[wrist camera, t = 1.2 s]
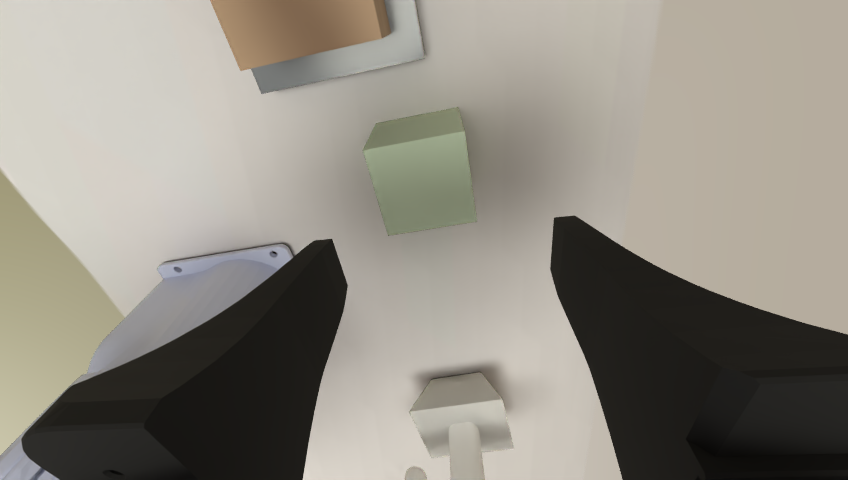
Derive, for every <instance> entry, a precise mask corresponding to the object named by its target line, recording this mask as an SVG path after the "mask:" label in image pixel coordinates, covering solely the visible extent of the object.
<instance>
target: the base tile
mask: <svg viewBox="0 0 848 480" xmlns="http://www.w3.org/2000/svg"><path fill="white" fill-rule="evenodd" d="M384 2H385V7H386V11H387V16H388V21H389V26H390V30H391V34H389V35H387V36H386V37H384V38H382V39H378V40H374V41H369V42H365V43H360V44H356V45H352V46H347V47H343V48H339V49H334V50H330V51H325V52H321V53H317V54H312V55H308V56H303V57H299V58H295V59H290V60H286V61H282V62H277V63H273V64H268V65H264V66H260V67H255V68H251V70H252V72H253V75H254V77H255V79H256V82H257V84H258V87H259V89H260V91H261V94H264V93H268V92H273V91H277V90H282V89H287V88H291V87H296V86H300V85H305V84H310V83H314V82H319V81H323V80H328V79H332V78H337V77H342V76H346V75H351V74H355V73H360V72H365V71H369V70H374V69H378V68H383V67H387V66H392V65H397V64H401V63H406V62H410V61H415V60H420V59H424V58H425V52H424V47H423V41H422V35H421V29H420V24H419V18H418V12H417V7H416V1H415V0H384Z"/></svg>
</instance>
